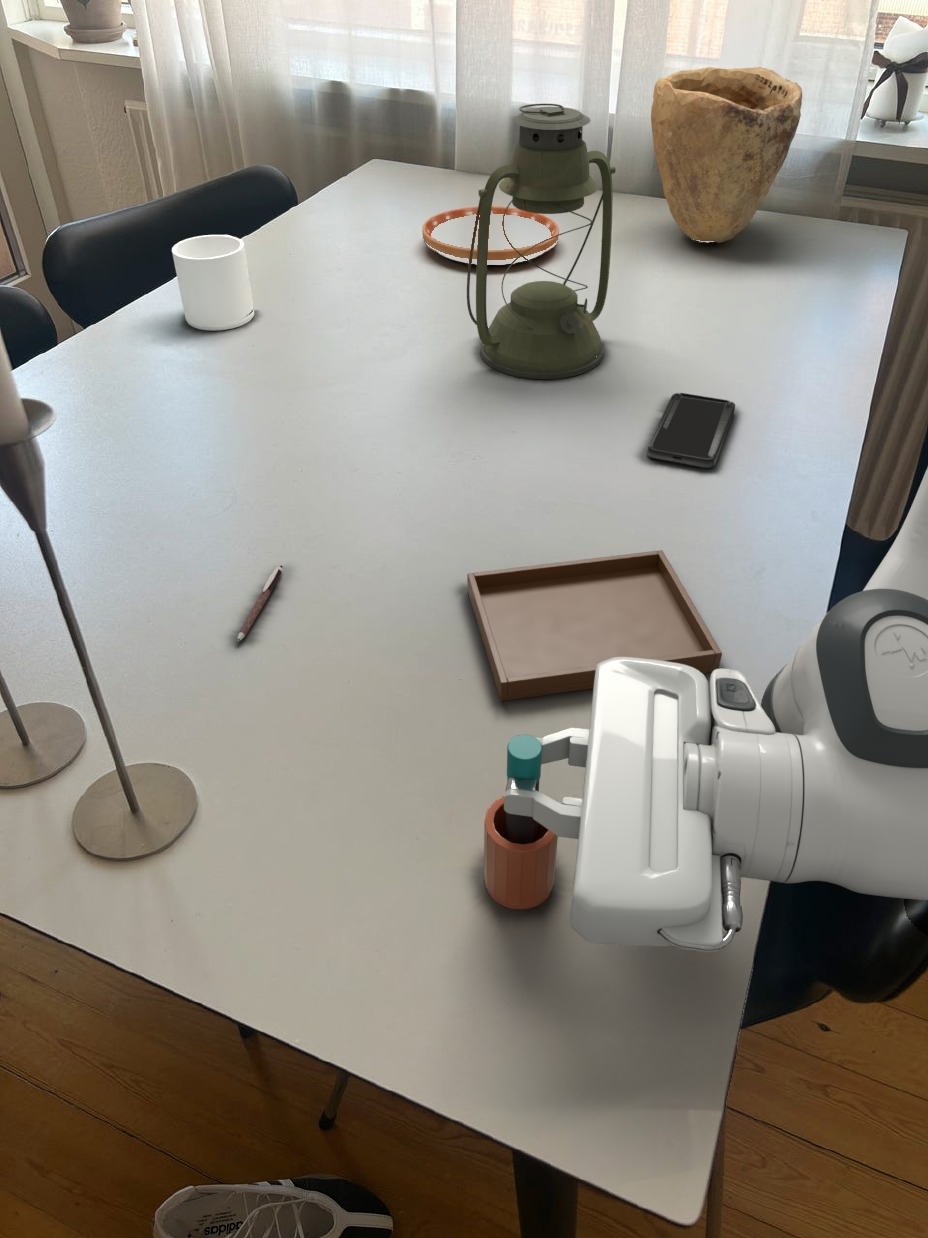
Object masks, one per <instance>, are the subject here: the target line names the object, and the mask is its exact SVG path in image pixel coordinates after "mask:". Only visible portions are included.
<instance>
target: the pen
mask: <svg viewBox="0 0 928 1238" xmlns="http://www.w3.org/2000/svg"><path fill="white" fill-rule="evenodd" d="M283 567H284V566H283V565H282V564H281V565H279V566H276V567H275V568H274V570H273V571H272V572H271V574H270V576H269V577H268V579H267V580H266V583H265V584H264V586H263V589H262V591H261V593H260V594H259V596H258V597H257V599H256V601H255V603H254V605H253V607H252V608H251V610H250V611H249V613H248V615H247V617H246V619H245V621H244V622H243V624H242V626H241V628H240V629H239V631H238V634H237V638H236V639H237V642H240V641H242V640H243V639H244V638H245V637H246V635H247V634H248V632H249V631H250V629H251V627H252V626H253V624H254V622H255V621H256V619H257V617H258V616H259V614H260V612H261V610H262V609H263V607H264V605H265V604H266V602H267V600H268V599H269V597H270V595H271V593H272V591H273V590H274V588H275V586H276V585H277V583H278V581H279V579H280V578H281V575H282V573H283Z"/></svg>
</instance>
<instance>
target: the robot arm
mask: <svg viewBox="0 0 928 1238" xmlns="http://www.w3.org/2000/svg"><path fill="white" fill-rule="evenodd" d="M926 467H927V468H926V470H925V472H924V474H923V478H922V480H921V482H920V485H919V486H918V489H917V491H916V494H915V497H914V499H913V501H912V504H911V507H910V509H909V510H908V513H907V516H906V518H905V520H904V521H903V524H902V525H901V527H900V530H899V532H898V534H897V536H896V538H895V540H894V542H893V543H892V545H891V546H890V547H889V549H888V551H887V553H886V554H885V556H884V557H883V558H882V560H881V562H880V563H879V565H878V566H877V567H876V569H875V571H874V573H872V574H871V575H872V576H871V577H870V579H869V580H868V581H867V583H866V584H865V586H864V587H863V588H862V591H858V592H856V593H852V594H851V595H848V596H846V597H844V598H843V599H841V600H840V601H838V602H837V603H836V604H835V605H833V606H832V607H831V608H830V610H828V612H826V613H825V614H824V615H823V616H822V617H821V618H820V619H819V621H818V622H817V623H816V624H815V626H814V627H813V628H812V630H811V631H810V632H809V633H808V635H807V636H806V637H805V638H804V639H803V642H802V643H801V644H800V646H799V647H798V648H797V650H796V651H795V652H794V654H793V655H792V656H791V658H790V659H789V661H788V662H787V663H786V664H785V665H784V666H783V667H782V668H781V669H780V670H779V671H778V673H776V675H775V676H774V677H772V679H771V680H770V681H769V682H768V685H766V688H765V690H764V692H763V695H762V697H761V702H759V700H758V698H757V696H756V695H755V692H754V690H753V689H752V687H751V684H750V683H749V681H748V680H747V677H746V676H745V675H744V674H743V673H742V672H741V671H739V670H738V669H737V670H736V669H732V668H719V669H715V670H714V671H713V672H711V673H710V678H709V681H708V679H707V677H706V675H704V673H701V672H700V671H698V670H697V669H695V668H693V667H690V666H687V665H684V664H679V663H673V662H667V661H660V660H652V659H643V658H633V657H613V658H610V659H608V660H605V661H603V662H600V663H598V664H597V666H596V670H595V678H594V687H593V688H592V699H591V709H590V718H589V719H590V720H589V728H580V727H568V728H565V729H563V730H559V731H556V732H554V733H550V734H548V735H545V736H542V737H536V736H534V737H535V738H537V739H538V740H539V741H540V743H541V745H542V759H541V765H545V764H550V763H554V762H558V761H562V760H566V759H567V765H569V766H570V767H571V766H573V767H579V768H585V769H584V770H585V771H584V779H583V789H582V798H580V797H571V796H563V798H562V803H561V802H558V801H557V800H555V799H553V798H551V797H549V796H547V795H546V794H544V793H542V792H541V791H540V790H539V791H537V790H536V780H533V779H523V780H521V779H520V778H518V777H511V778H509V779H508V781H507V780H506V781H507V782H506V787H505V792H504V795H505V797H504V810H505V811H506V812H507V813H509V814H515V815H523V816H530V817H533V819H534V820H535V821H537V822H538V823H540V824H541V825H543V826H544V827H546V828H547V829H549V830H550V831H551V832H553V833H554V834H556V835H557V836H558V838H567V839H572V840H573V839H574V840H577V848H576V849H577V850H576V858H575V868H574V875H573V883H572V884H573V886H572V895H571V896H572V897H571V905H570V906H571V907H570V915H569V916H570V917H569V925H570V928H571V929H572V930H573V931H574V932H575V933H576V934H578V936H580V937H581V938H582V939H584V940H585V941H586V942H588V943H593V944H599V945H612V946H625V947H627V946H628V947H667V946H669V947H670V946H674V947H677V948H679V949H683V950H690V951H697V952H704V953H713V952H717V951H719V950H721V949H723V948H725V947H726V946H728V945H729V944H730V943H731V942H732V941H733V939H734V938H735V935H736V933H739V932H740V931H741V930H742V928H743V920H744V914H743V908H742V906H741V888H742V879H741V878H745V879H752V880H760V881H767V882H774V883H775V882H776V883H782V884H800V883H804V882H826V883H830V884H834V885H837V886H840V887H842V888H844V889H847V890H849V891H851V892H855V893H858V894H864V895H869V896H877V897H887V898H895V899H905V900H915V901H916V900H918V901H928V466H926ZM723 931H725V932H726V934H725V935H723V934H724V932H723Z"/></svg>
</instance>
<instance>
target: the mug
mask: <svg viewBox="0 0 928 1238" xmlns="http://www.w3.org/2000/svg"><path fill="white" fill-rule="evenodd" d="M171 253H172V259H173V264H174V268H175V273H176V279H177V283H178V288H179V293H180V299H181V303H182V309H183V313H184V319H185V321H186V323H187V324H188V325H189V326H191V327H192V328H195V329H198V330H202V331H210V332H211V331H215V332H217V331H226V330H232V329H236V328H239V327H242V326H244V325H246V324H248V323H249V322H250V321H251V320H252V319H253V318H254V316H255V309H254V310H253V312H252V313H251V314H250V315H248V316H247V317H245V316H246V315H247V314H249V313H250V312H251V310H252V309H253V306H254V301H253V293H252V287H251V280H250V273H249V269H248V262H247V256H246V254H247V253H246V248H245V242H244V241H243V240H242V239H240V238H239V237H237V236H232V235H229V234H207V235H198V236H193V237H188V238H185V239H183V240H181V241H178V242H177V243H175V244H174V245H173V246H172V248H171ZM243 317H245V318H243ZM241 318H243V319H241ZM238 319H241V320H238ZM236 320H238V321H236ZM233 321H235V322H233ZM229 322H231V323H229Z"/></svg>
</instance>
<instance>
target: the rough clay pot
mask: <svg viewBox="0 0 928 1238" xmlns="http://www.w3.org/2000/svg"><path fill="white" fill-rule="evenodd" d="M652 98H653V100H652V104H651V109H650V110H651V111H650V122H651V132H652V133H651V134H652V142H653V151H654V154H655V160H656V164H657V168H658V172H659V175H660V177H661V184H662V190H663V191H662V192H663V195H664V197H665V200H666V202H667V205H668V209H669V213H670V214H671V217H672V218H673V220H674V222H675V223H676V225H677V226H678V227H679V228H680V229H681V230H682V232H683V233H684V235H686V236H687V237H688V236H689V237H690V238H691V239H690V238H689V237H688V238H689V239H690V240H692V239H694V240H700V241H714V242H717V244H722V243H724V242H726V241H725V240H727V241H730V240H732V239H734V237H735V236H736V235H737V234H739V233H741V232H742V231H743V230H744V229H745V228H746V227H747V225H748V224H750V223H751V221H752V219H753V217H754V215H755V214H756V213H757V211H758V209H759V208H760V206H761V204H762V203H763V201H764V199H765V198H766V197H767V195H768V194H769V191H770V188H771V187H772V185H773V183H774V181H775V179H776V177H777V175H778V174H779V172H780V171H781V169H782V167H783V165H784V163H785V161H786V158H787V157H788V153H789V151H790V147H791V144H792V142H793V140H794V138H795V136H796V132H797V130H798V127H799V124H800V120H801V116H802V115H801V112H802V111H801V109H802V104H803V102H802V101H803V88H802V87H801V85H799V83H798V82H794V81H792V80H790V79H787V78H784V77H783V76H781V75H780V74H778V73H776V72H775V71H774V70H772V69H770V68H769V69H768V68H765V67H761V66H754V67H743V68H742V67H741V68H720V67H713V66H706V67H702V68H695V69H687V70H679V71H675V72H673V73H671V74H670V75H668V76H666V77H661V78H658V79H657V81H656V82H655V84H654V88H653V96H652ZM694 240H693V241H694ZM698 243H699V244H701V243H702V244H704V243H703V242H698Z"/></svg>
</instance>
